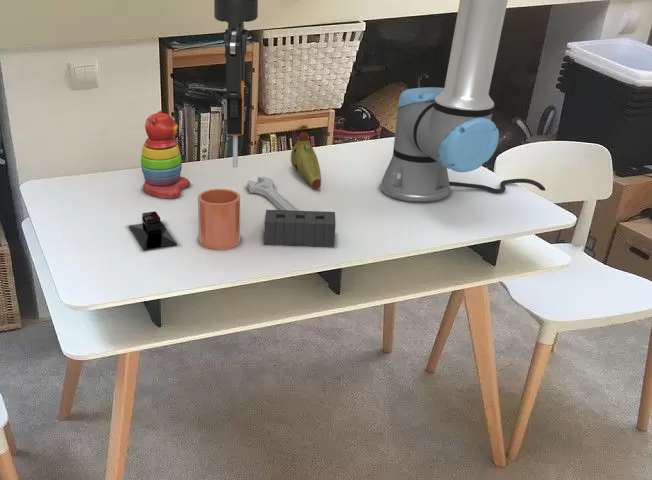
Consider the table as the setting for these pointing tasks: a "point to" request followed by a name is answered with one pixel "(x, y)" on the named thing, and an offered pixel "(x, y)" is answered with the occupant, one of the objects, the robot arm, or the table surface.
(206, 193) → the pen cup
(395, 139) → the robot arm
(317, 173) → the olive green tapered piece
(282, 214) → the holder
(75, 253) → the table surface
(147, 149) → the stacking bear
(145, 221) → the build plate
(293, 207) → the adjustable wrench
